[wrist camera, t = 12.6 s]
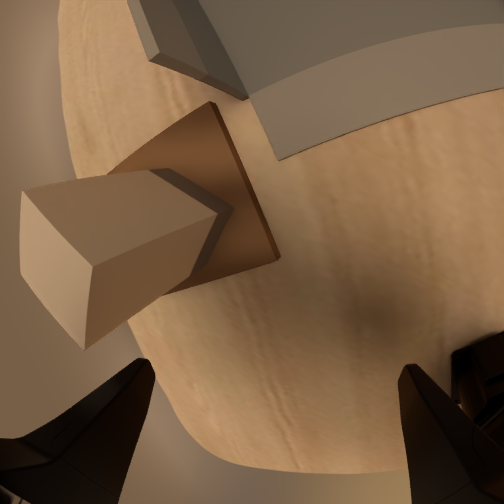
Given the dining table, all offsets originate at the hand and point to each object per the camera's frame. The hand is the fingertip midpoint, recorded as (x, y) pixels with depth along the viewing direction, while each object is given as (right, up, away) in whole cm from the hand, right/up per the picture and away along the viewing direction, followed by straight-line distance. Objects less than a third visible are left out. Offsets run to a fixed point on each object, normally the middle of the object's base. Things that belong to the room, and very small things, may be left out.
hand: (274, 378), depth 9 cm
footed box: (-6, +7, +12) cm, 15 cm away
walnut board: (-6, +8, +13) cm, 16 cm away
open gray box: (+8, +22, +3) cm, 24 cm away
